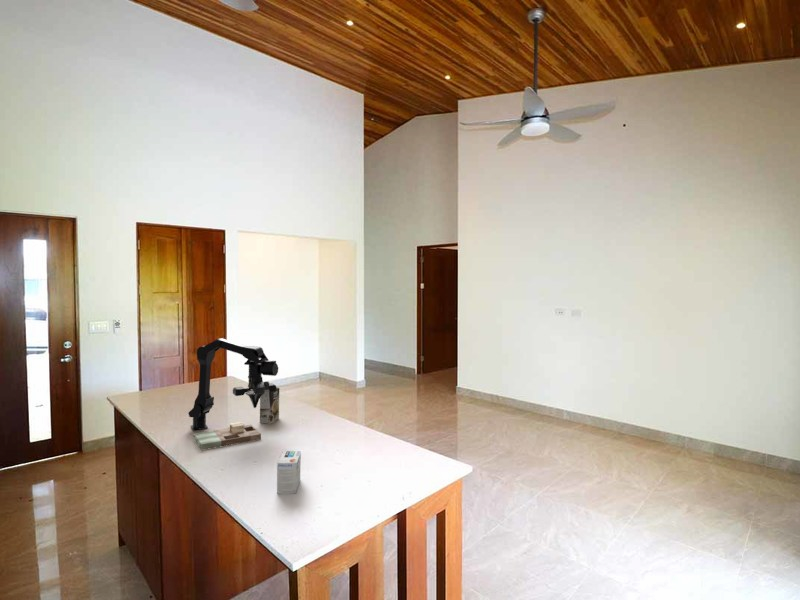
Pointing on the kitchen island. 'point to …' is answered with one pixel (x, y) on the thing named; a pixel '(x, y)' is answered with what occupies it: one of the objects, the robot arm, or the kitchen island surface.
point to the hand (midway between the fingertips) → (254, 407)
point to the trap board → (225, 437)
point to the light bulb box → (288, 472)
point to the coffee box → (269, 406)
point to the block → (237, 427)
